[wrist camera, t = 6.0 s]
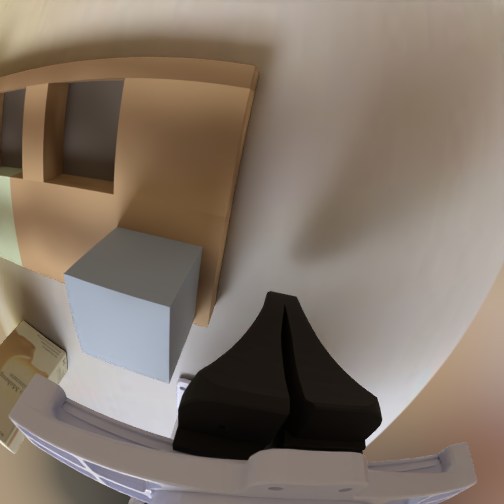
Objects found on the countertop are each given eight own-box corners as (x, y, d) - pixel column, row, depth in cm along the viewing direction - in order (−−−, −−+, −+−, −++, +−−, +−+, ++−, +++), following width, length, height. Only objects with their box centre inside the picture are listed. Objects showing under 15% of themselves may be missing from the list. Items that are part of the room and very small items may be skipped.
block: (194, 319, 15) (169, 383, 11) (120, 298, 15) (82, 351, 11) (202, 246, 13) (169, 307, 9) (117, 226, 13) (63, 273, 9)
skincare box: (67, 350, 22) (7, 446, 11) (68, 371, 24) (18, 457, 13) (20, 316, 21) (-45, 398, 10) (24, 340, 23) (-31, 415, 12)
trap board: (214, 305, 17) (194, 368, 13) (-3, 237, 17) (-41, 265, 13) (259, 72, 11) (245, 49, 7) (-9, 83, 11) (-58, 92, 7)
